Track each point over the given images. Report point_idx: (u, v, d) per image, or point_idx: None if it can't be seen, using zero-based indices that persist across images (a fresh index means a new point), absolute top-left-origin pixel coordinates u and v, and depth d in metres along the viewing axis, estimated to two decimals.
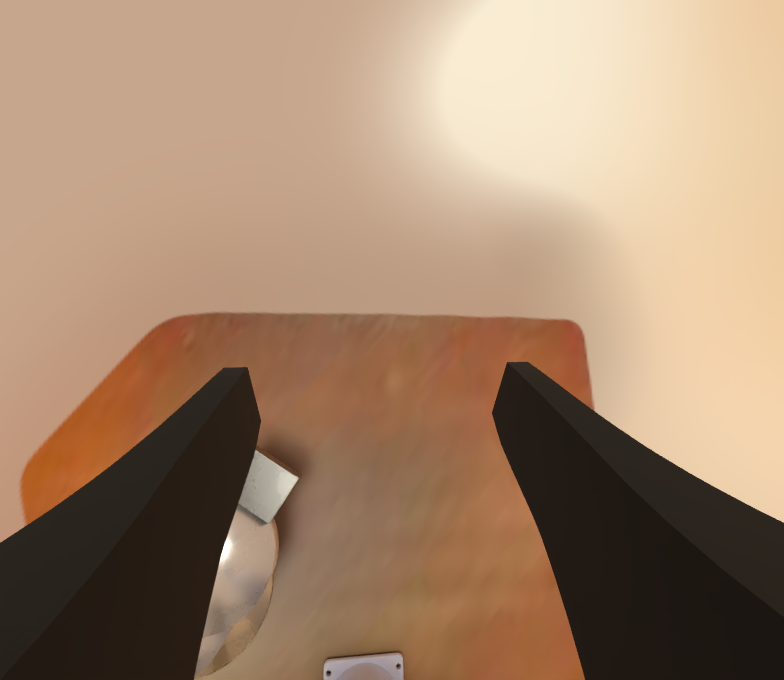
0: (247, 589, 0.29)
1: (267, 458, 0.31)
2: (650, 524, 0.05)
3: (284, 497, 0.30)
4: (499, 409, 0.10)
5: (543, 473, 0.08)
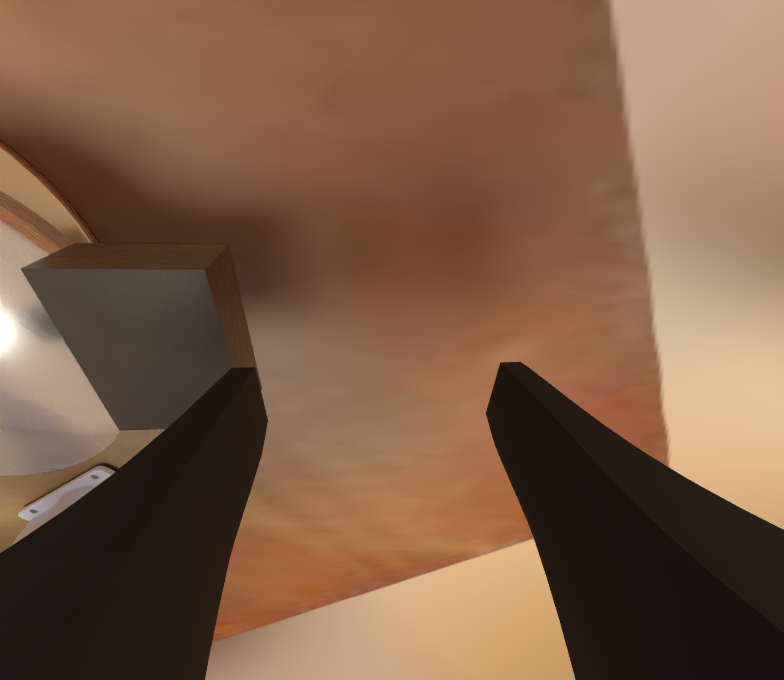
0: None
1: (225, 348, 0.10)
2: (638, 526, 0.05)
3: None
4: (493, 409, 0.10)
5: (535, 474, 0.08)
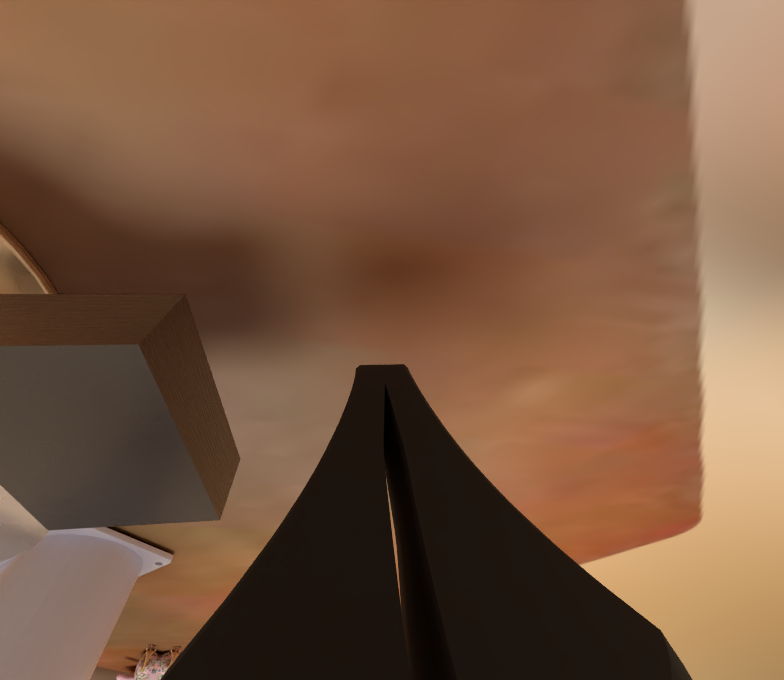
0: None
1: (180, 437, 0.08)
2: (419, 541, 0.05)
3: (143, 522, 0.09)
4: None
5: (394, 481, 0.08)
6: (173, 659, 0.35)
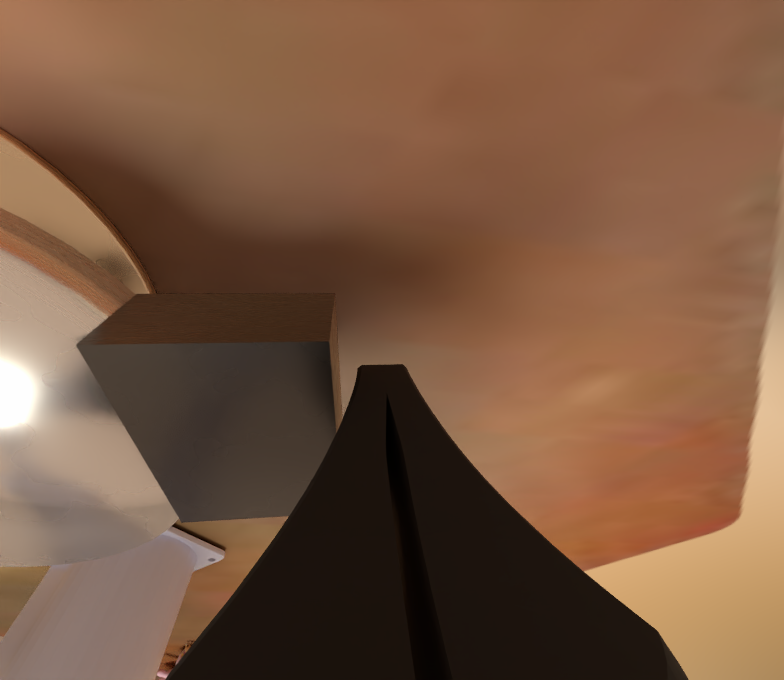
0: (20, 546, 0.10)
1: (333, 431, 0.08)
2: (417, 542, 0.05)
3: (271, 515, 0.09)
4: None
5: (393, 481, 0.08)
6: None
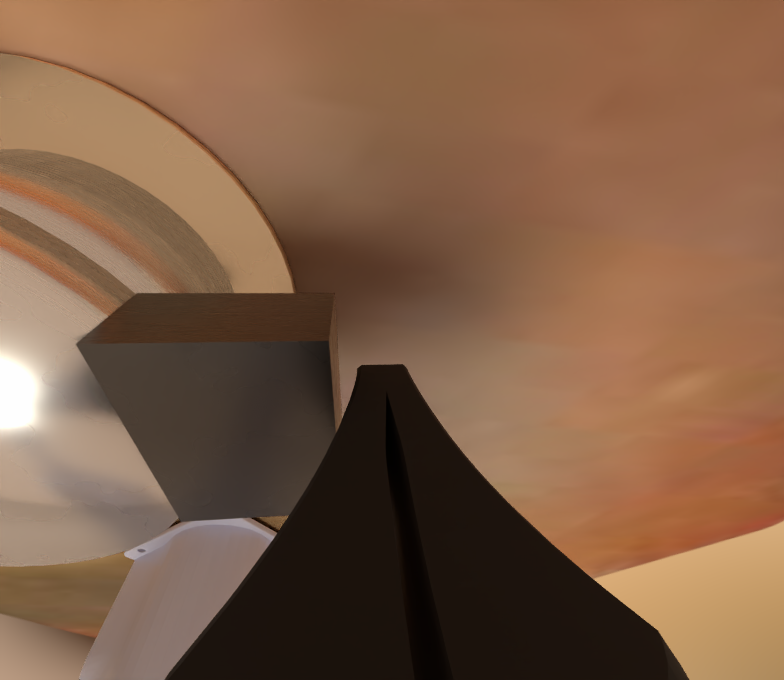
0: (20, 545, 0.10)
1: (333, 430, 0.08)
2: (417, 542, 0.05)
3: (271, 514, 0.09)
4: None
5: (393, 481, 0.08)
6: None
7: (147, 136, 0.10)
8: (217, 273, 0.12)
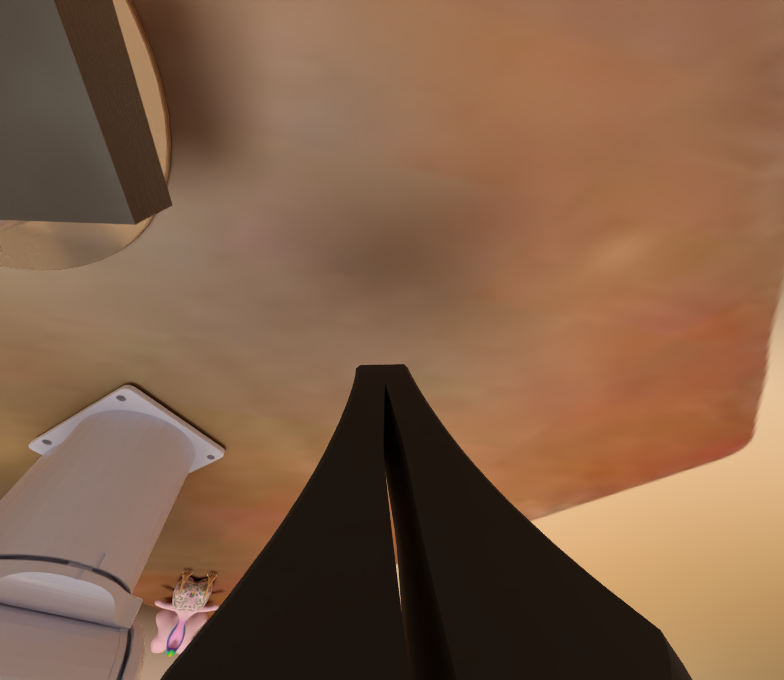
0: None
1: (66, 38, 0.06)
2: (419, 542, 0.05)
3: (43, 216, 0.08)
4: None
5: (394, 481, 0.08)
6: (210, 583, 0.34)
7: None
8: None
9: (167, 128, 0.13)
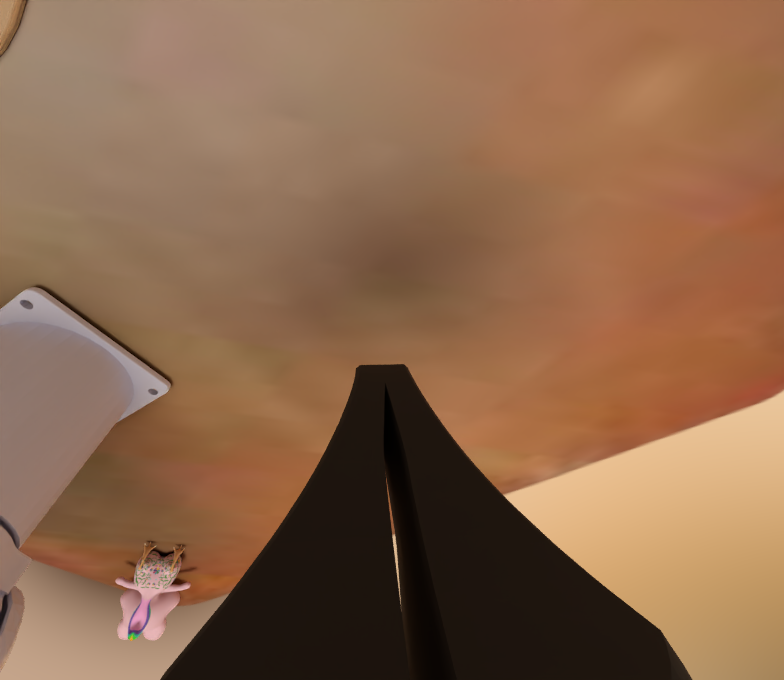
0: None
1: None
2: (419, 542, 0.05)
3: None
4: None
5: (394, 481, 0.08)
6: (176, 556, 0.30)
7: None
8: None
9: None
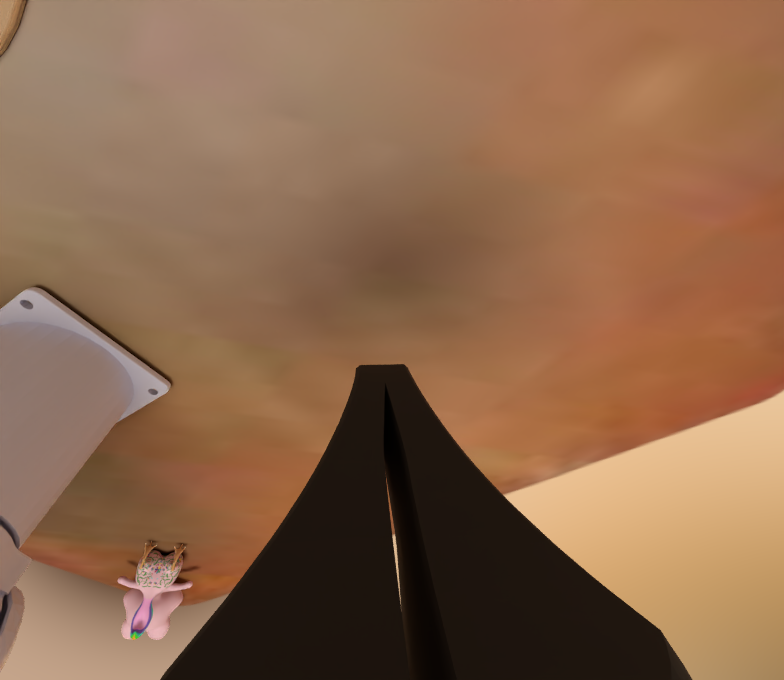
0: None
1: None
2: (419, 542, 0.05)
3: None
4: None
5: (394, 481, 0.08)
6: (177, 555, 0.30)
7: None
8: None
9: None
